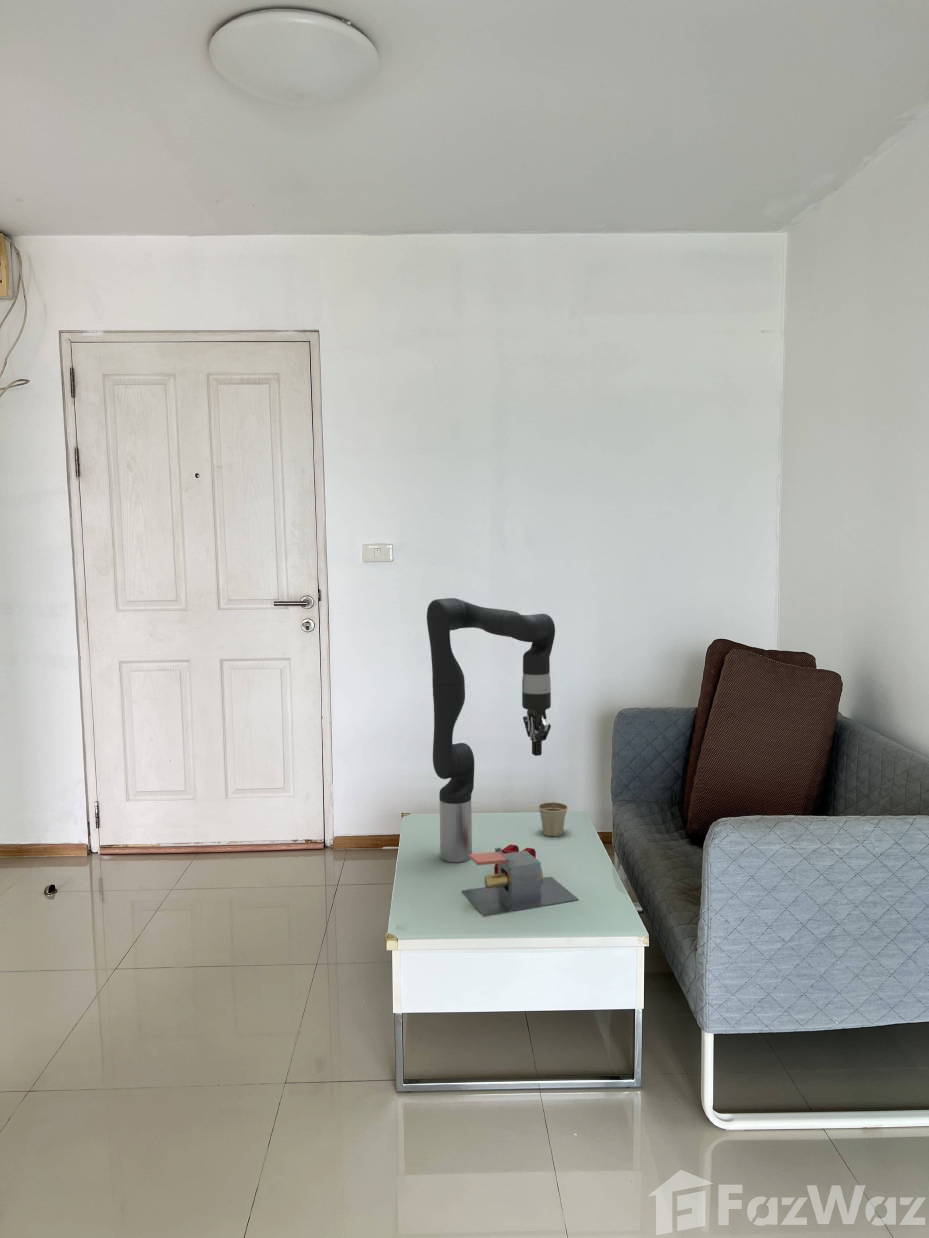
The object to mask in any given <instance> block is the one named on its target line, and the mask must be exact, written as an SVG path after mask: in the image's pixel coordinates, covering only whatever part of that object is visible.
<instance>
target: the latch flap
mask: <svg viewBox="0 0 929 1238" xmlns="http://www.w3.org/2000/svg"><path fill="white" fill-rule="evenodd" d="M469 858H470V860H471V861H472V862H473V863H474V864H475V865H476V866H484V865H486V866H487V865H495V864H500V863H507V862H508V859H509V858H508V857H507V856H506V855H505V854H503V853H502V852H501V851H498V852H495V851H492V852H491V851H490V852H479V853H472V854H469Z"/></svg>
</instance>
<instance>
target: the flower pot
mask: <svg viewBox="0 0 929 1238" xmlns="http://www.w3.org/2000/svg"><path fill="white" fill-rule="evenodd" d="M537 809H538V810H539V814H540V820H541V828H542V834H544V835H545V836H548V837H550V836H553V837H560V836H562V835H563V834H564V829H565V828H564V827H565V819H566V814H567V811H568V809H569V805H567V804H565V803H562V802H557V801H555V802H554V801H549V802H548V801H547V802H542V803H540V804H538V805H537Z"/></svg>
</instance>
